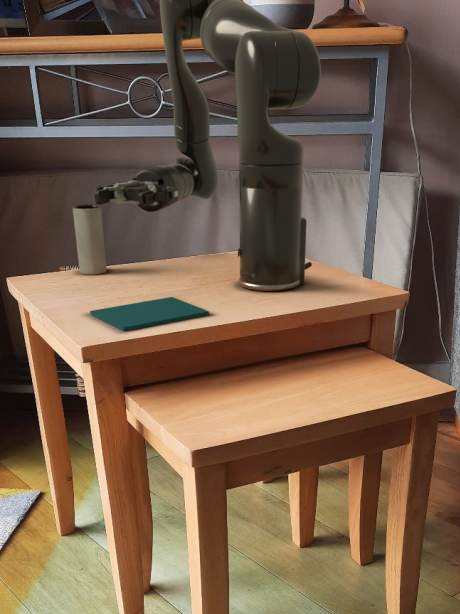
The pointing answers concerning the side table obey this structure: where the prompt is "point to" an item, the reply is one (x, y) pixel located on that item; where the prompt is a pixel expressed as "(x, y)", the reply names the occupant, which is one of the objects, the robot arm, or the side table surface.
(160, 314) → the towel
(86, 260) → the planter
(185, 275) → the side table surface
